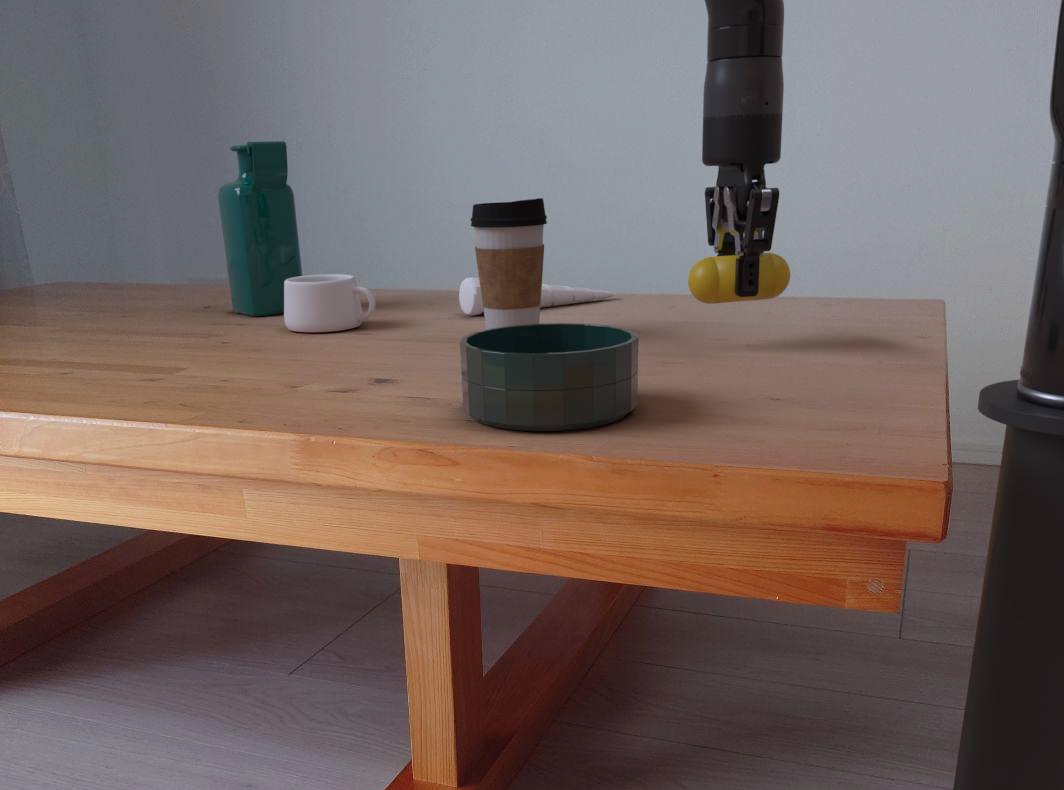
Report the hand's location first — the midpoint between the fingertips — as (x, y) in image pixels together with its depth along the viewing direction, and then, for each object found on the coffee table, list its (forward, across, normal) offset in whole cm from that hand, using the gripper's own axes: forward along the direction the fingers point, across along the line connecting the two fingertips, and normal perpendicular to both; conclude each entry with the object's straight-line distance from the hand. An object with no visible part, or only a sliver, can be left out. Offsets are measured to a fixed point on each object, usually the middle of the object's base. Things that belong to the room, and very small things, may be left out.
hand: (736, 292), depth 103 cm
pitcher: (+5, +47, +50) cm, 69 cm away
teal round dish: (+6, -21, +24) cm, 32 cm away
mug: (+5, +30, +41) cm, 51 cm away
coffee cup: (+6, +14, +21) cm, 26 cm away
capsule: (0, -2, 0) cm, 2 cm away
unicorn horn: (+5, +37, +14) cm, 40 cm away
